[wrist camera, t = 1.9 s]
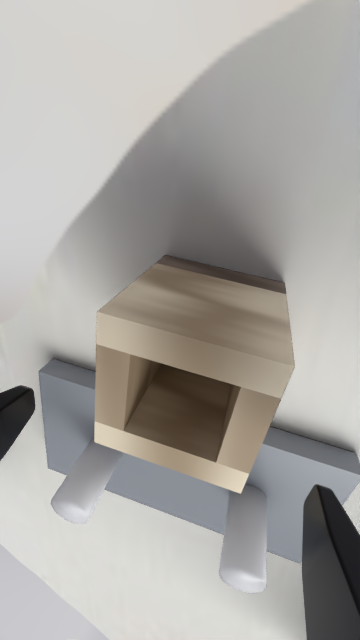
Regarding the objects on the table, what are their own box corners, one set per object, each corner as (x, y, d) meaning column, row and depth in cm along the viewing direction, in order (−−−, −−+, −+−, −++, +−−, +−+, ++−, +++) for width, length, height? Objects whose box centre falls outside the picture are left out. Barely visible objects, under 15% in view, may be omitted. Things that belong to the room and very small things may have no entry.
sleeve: (153, 350, 18) (94, 442, 12) (165, 255, 15) (96, 311, 9) (251, 379, 17) (240, 494, 11) (284, 282, 14) (294, 366, 8)
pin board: (59, 452, 26) (5, 525, 20) (53, 358, 21) (-20, 422, 16) (298, 540, 22) (306, 653, 17) (356, 453, 18) (392, 573, 12)
